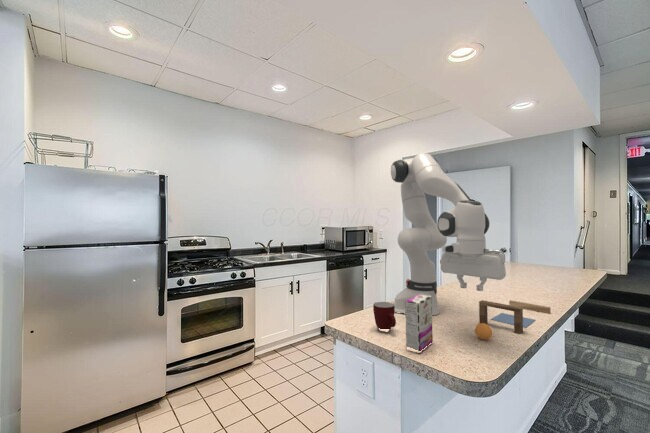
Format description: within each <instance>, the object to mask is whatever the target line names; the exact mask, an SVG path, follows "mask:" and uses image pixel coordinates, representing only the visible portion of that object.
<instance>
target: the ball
mask: <svg viewBox="0 0 650 433" xmlns="http://www.w3.org/2000/svg"><path fill="white" fill-rule="evenodd" d="M474 333H475V335H476V337H477V338H478V339H481V340H485V341H486V340H490V339H491V338H492V336H493V329H492V327H491V326H490V325H488V324H485V323H480V324H479V323H478V324H477V325H475V328H474Z"/></svg>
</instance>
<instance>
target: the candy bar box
mask: <svg viewBox="0 0 650 433" xmlns="http://www.w3.org/2000/svg"><path fill="white" fill-rule="evenodd" d="M404 315H405V341H406V343H405V344H406V346H407V347H410V348H413V349H415V350H418V351H421V350H422V349H424V348H425V347H426V346H428V345H429V344H430V343H432V342H433V343H434V341H433V315H432V302H431V296H428V295H422V294H418V295H416V296H414V297H412V298H410V299H408V300H406V301H405V314H404ZM433 343H432V344H433Z"/></svg>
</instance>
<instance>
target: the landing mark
mask: <svg viewBox="0 0 650 433" xmlns="http://www.w3.org/2000/svg"><path fill="white" fill-rule="evenodd" d="M489 320H490V321H494V322H498V323H499V322H500V323H503V324H506V325H507V324H508V325H512V326H514V314H508V313H505V312H501V313H498V314H497V315H496V316H493V317H492V318H490V319H489ZM534 322H536V319H533V318H530V317H529V318H528V317H525V316H523V329H525V328H528V327H530V326H531V325H532V324H533V323H534Z"/></svg>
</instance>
